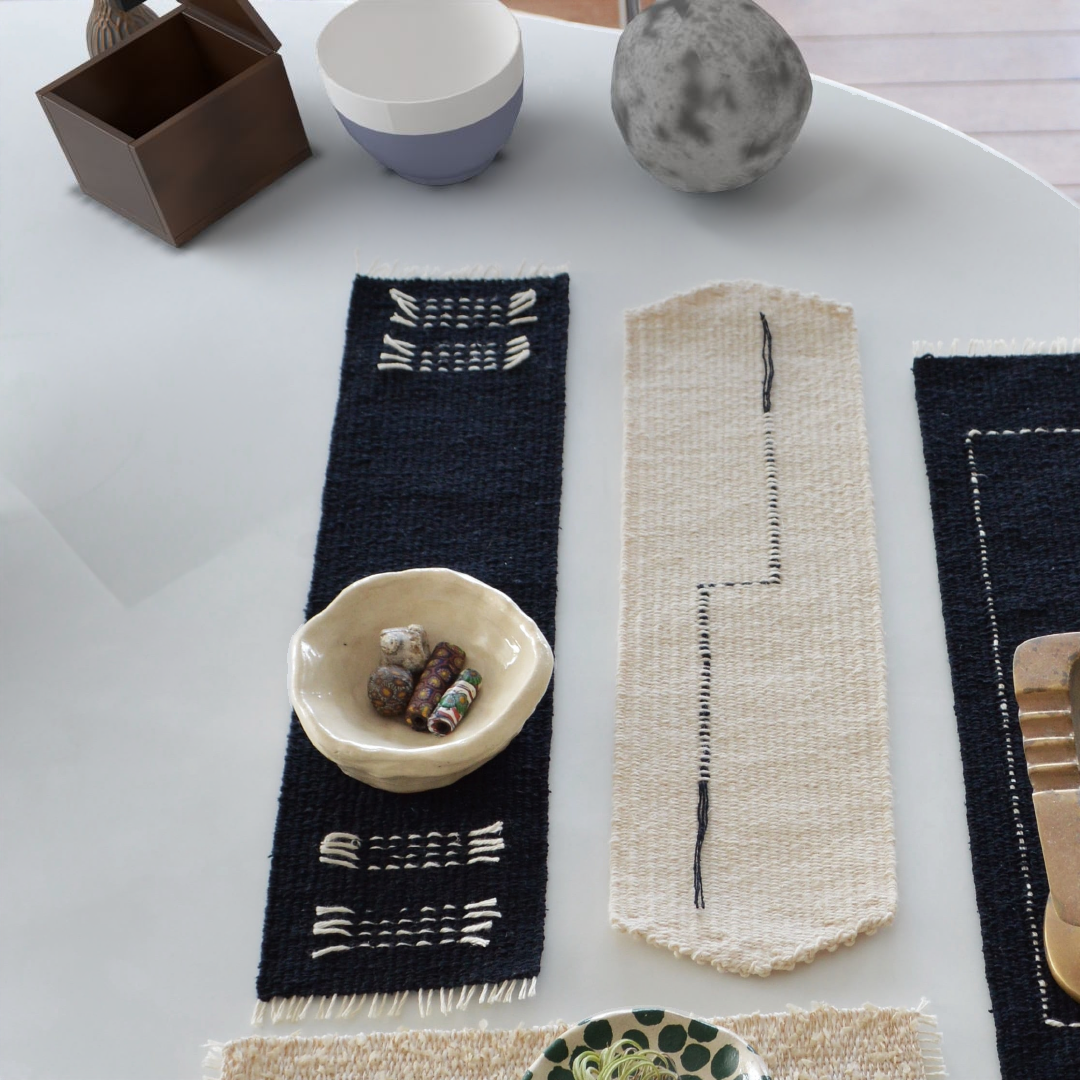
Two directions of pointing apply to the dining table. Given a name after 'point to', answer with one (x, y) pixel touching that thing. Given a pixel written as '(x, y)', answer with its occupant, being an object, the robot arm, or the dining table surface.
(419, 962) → the dining table surface
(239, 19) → the lid
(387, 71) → the bowl
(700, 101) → the stone
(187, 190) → the chest
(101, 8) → the vase
